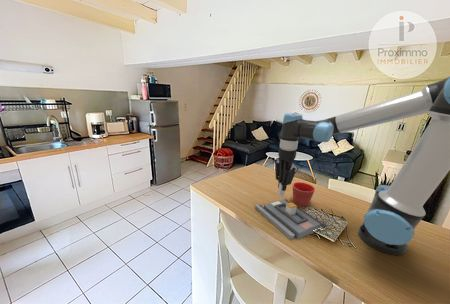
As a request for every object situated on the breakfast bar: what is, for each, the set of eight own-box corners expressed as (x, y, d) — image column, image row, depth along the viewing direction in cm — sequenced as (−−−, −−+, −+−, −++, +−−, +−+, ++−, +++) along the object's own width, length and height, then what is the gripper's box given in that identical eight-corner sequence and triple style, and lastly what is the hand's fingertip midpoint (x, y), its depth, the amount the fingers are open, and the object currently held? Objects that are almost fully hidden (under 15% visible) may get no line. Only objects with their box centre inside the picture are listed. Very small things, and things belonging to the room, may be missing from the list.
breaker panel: (319, 229, 80) (321, 222, 79) (298, 239, 74) (299, 231, 73) (282, 204, 99) (283, 197, 97) (263, 210, 93) (264, 203, 92)
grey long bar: (296, 237, 75) (297, 234, 74) (290, 240, 74) (291, 236, 73) (259, 206, 95) (259, 203, 95) (254, 208, 94) (255, 205, 93)
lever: (295, 214, 85) (296, 205, 84) (289, 216, 83) (291, 207, 82) (290, 210, 87) (291, 202, 86) (285, 212, 86) (286, 203, 85)
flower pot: (314, 209, 95) (317, 192, 92) (291, 206, 97) (294, 189, 94) (309, 199, 105) (312, 183, 102) (289, 196, 107) (291, 181, 104)
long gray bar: (325, 229, 80) (326, 225, 80) (321, 231, 79) (322, 227, 79) (285, 202, 101) (285, 199, 100) (281, 203, 99) (281, 200, 99)
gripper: (305, 151, 79) (296, 200, 86) (283, 144, 90) (277, 187, 97) (293, 153, 75) (285, 204, 82) (271, 145, 86) (266, 190, 93)
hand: (280, 195), depth 90 cm, fingers closed
